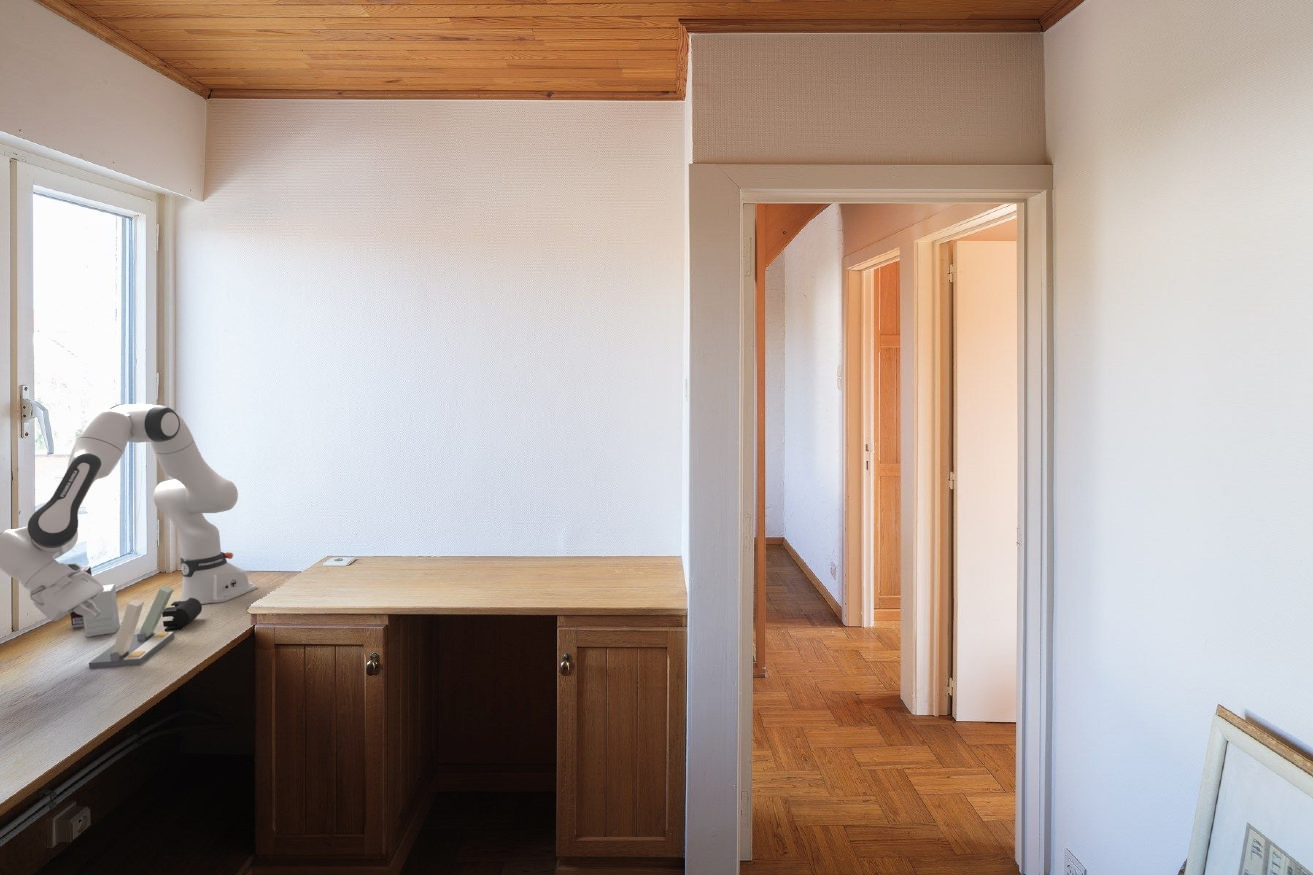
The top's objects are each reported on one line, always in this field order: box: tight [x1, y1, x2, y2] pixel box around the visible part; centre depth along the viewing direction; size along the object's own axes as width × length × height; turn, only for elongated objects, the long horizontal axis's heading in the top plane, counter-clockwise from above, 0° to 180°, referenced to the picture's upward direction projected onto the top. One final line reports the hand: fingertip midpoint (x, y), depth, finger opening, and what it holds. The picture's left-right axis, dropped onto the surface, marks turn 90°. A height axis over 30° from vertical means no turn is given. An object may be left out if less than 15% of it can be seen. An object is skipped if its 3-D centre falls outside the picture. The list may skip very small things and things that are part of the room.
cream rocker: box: [112, 599, 145, 656], centre depth 211 cm, size 2×4×15 cm, turn 10°
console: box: [88, 631, 175, 670], centre depth 218 cm, size 12×20×4 cm, turn 8°
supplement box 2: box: [83, 583, 121, 638], centre depth 234 cm, size 7×7×13 cm
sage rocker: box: [138, 585, 175, 637], centre depth 224 cm, size 2×4×15 cm, turn 8°
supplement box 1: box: [69, 566, 93, 629], centre depth 242 cm, size 9×5×16 cm, turn 23°
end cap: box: [161, 598, 203, 632], centre depth 238 cm, size 10×7×7 cm
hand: (96, 616), depth 209 cm, fingers closed
